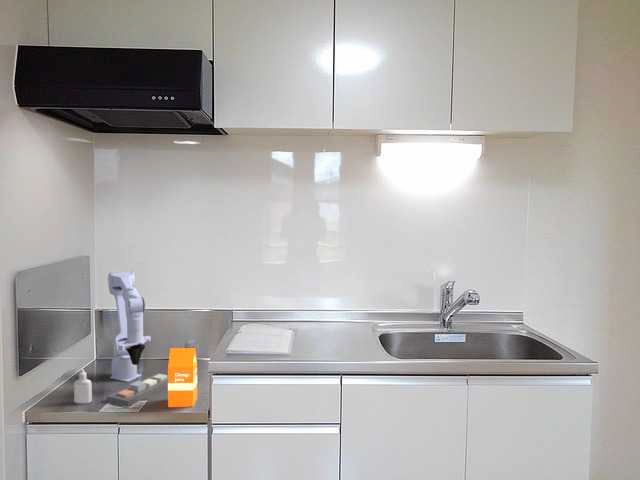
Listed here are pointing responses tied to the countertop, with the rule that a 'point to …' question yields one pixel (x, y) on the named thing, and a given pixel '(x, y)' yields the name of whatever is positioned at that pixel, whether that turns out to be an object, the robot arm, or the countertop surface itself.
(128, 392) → the terracotta key
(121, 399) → the grey slotted tray
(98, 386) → the countertop surface
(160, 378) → the sage key
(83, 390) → the eye dropper bottle
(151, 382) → the cream key
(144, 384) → the slate key
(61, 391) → the countertop surface
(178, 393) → the orange juice
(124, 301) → the robot arm
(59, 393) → the countertop surface
